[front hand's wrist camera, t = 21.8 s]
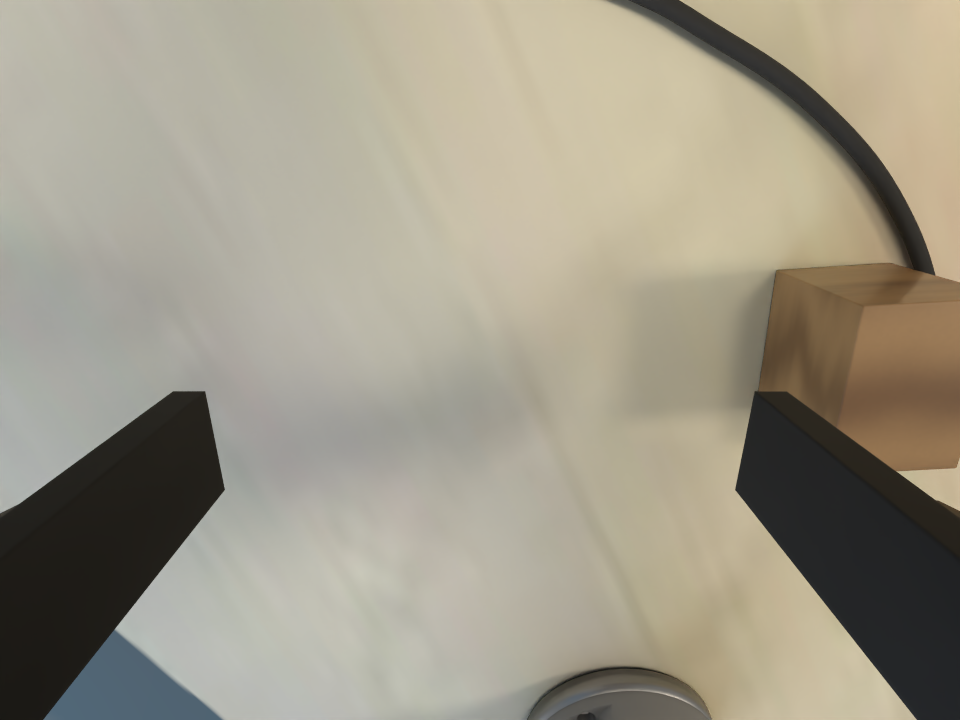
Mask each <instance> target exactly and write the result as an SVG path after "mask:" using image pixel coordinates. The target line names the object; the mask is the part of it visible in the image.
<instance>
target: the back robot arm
mask: <svg viewBox="0 0 960 720" xmlns="http://www.w3.org/2000/svg"><path fill="white" fill-rule="evenodd" d="M528 720H712V718H711V716H710V713H709V711H708V709H707V706H706V704H705V703H704V701H703V700H702V698H701V697H700V696H699V695H698V694H697V693H696V692H695V691H694V690H693V689H692V688H691V687H689V686H688V685H686V684H685V683H683V682H681V681H679V680H677V679H675V678H673V677H670V676H668V675H665V674H662V673H658V672H653V671H648V670H641V669H611V670H604V671H598V672H594V673H590V674H586V675H583V676H580V677H577V678H575V679H572V680H570V681H568V682H566V683H564V684H562V685H560V686H558V687H557V688H555V689H554V690H552V691H551V692H550V693H548V694H547V695H546V696H545V697H544V698H543V699H541V700H540V701H539V703H538V704H537V705H536V706H535V707H534V709H533V710H532V712H531V713H530V715H529V717H528Z"/></svg>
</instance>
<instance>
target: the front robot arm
mask: <svg viewBox="0 0 960 720" xmlns="http://www.w3.org/2000/svg"><path fill="white" fill-rule="evenodd" d="M630 1H632V2H634V3H637V4H639V5H641V6H643V7H646V8H648V9H650V10H652V11H654V12H656V13H658V14H660V15H662V16H664V17H666V18H667V19H669V20H671V21H672V22H674V23H676V24H677V25H679V26H681V27H682V28H684V29H685V30H687V31H689V32H690V33H692V34H693V35H695V36H697V37H698V38H700V39H701V40H703V41H705V42H706V43H708V44H710V45H711V46H713V47H715V48H716V49H718V50H720V51H721V52H723V53H725V54H726V55H728V56H730V57H731V58H733V59H735V60H736V61H738V62H740V63H741V64H743V65H745V66H746V67H748V68H750V69H751V70H753V71H754V72H756V73H757V74H759V75H760V76H762V77H763V78H765V79H766V80H768V81H769V82H771V83H772V84H773V85H775V86H776V87H778V88H779V89H780V90H782V91H783V92H784V93H785V94H787V95H788V96H789V97H791V98H792V99H793V100H794V101H795V102H797V103H798V104H799V105H800V106H801V107H802V108H803V109H805V110H806V111H807V112H808V113H809V114H810V115H811V116H812V117H813V118H814V119H815V120H816V121H818V122H819V123H820V124H821V125H822V126H823V127H824V128H825V129H826V130H827V131H828V132H829V133H830V134H831V135H832V136H833V137H834V138H835V139H836V140H837V141H838V142H839V143H840V144H841V145H842V146H843V148H844V149H845V150H846V151H847V152H848V153H849V154H850V155H851V156H852V158H853V159H854V160H855V161H856V162H857V164H858V165H859V166H860V167H861V169H862V170H863V171H864V173H865V174H866V175H867V177H868V178H869V180H870V181H871V183H872V184H873V186H874V187H875V189H876V190H877V192H878V193H879V195H880V197H881V198H882V200H883V202H884V203H885V205H886V207H887V209H888V210H889V212H890V214H891V216H892V218H893V220H894V222H895V224H896V226H897V228H898V230H899V232H900V234H901V236H902V238H903V241H904V243H905V245H906V248H907V250H908V253H909V256H910V258H911V261H912V264H913V267H914V270H917V271H920V272H924V273H927V274H931V275H935V272H934V268H933V265H932V261H931V258H930V255H929V252H928V249H927V246H926V244H925V241H924V238H923V236H922V233H921V231H920V229H919V227H918V224H917V222H916V220H915V218H914V216H913V214H912V212H911V210H910V208H909V206H908V204H907V202H906V200H905V199H904V197H903V195H902V193H901V191H900V190H899V188H898V186H897V185H896V183H895V181H894V180H893V178H892V177H891V175H890V173H889V172H888V170H887V169H886V168H885V166H884V165H883V163H882V162H881V160H880V159H879V158H878V156H877V155H876V154H875V153H874V151H873V150H872V149H871V148H870V146H869V145H868V144H867V143H866V142H865V141H864V139H863V138H862V137H861V136H860V135H859V134H858V133H857V132H856V131H855V129H854V128H853V127H852V126H851V125H850V124H849V123H848V122H847V121H846V120H845V119H844V118H843V117H842V116H841V115H840V114H839V113H838V112H837V111H836V110H835V109H834V108H833V107H832V106H831V105H830V104H829V103H827V102H826V101H825V100H824V99H823V98H822V97H821V96H820V95H819V94H818V93H817V92H816V91H814V90H813V89H812V88H811V87H810V86H809V85H807V84H806V83H805V82H804V81H803V80H801V79H800V78H799V77H798V76H796V75H795V74H794V73H792V72H791V71H790V70H788V69H787V68H786V67H784V66H783V65H781V64H780V63H778V62H777V61H776V60H774V59H773V58H771V57H770V56H768V55H767V54H765V53H763V52H762V51H760V50H759V49H757V48H756V47H754V46H752V45H751V44H749V43H747V42H746V41H744V40H742V39H741V38H739V37H738V36H736V35H734V34H733V33H731V32H729V31H728V30H726V29H724V28H723V27H721V26H719V25H718V24H716V23H715V22H713V21H711V20H710V19H708V18H707V17H705V16H703V15H702V14H700V13H699V12H697V11H696V10H694V9H692V8H691V7H689V6H688V5H686V4H684V3H683V2H681V1H679V0H630ZM224 490H225V489H224V484H223V479H222V474H221V469H220V464H219V459H218V454H217V449H216V443H215V438H214V433H213V428H212V423H211V418H210V413H209V408H208V403H207V398H206V393H205V391H173V392H172V393H170V394H169V395H168V396H166V397H165V398H163V399H162V400H161V401H159V402H158V403H157V404H155V405H154V406H153V407H151V408H150V409H148V410H147V411H146V412H144V413H143V414H142V415H140V416H139V417H138V418H136V419H135V420H133V421H132V422H131V423H129V424H128V425H127V426H125V427H124V428H123V429H121V430H120V431H118V432H117V433H116V434H114V435H113V436H112V437H110V438H109V439H107V440H106V441H105V442H103V443H102V444H101V445H99V446H98V447H97V448H95V449H94V450H92V451H91V452H90V453H88V454H87V455H86V456H84V457H83V458H82V459H80V460H79V461H77V462H76V463H75V464H73V465H72V466H71V467H69V468H68V469H67V470H65V471H64V472H62V473H61V474H60V475H58V476H57V477H56V478H54V479H53V480H52V481H50V482H49V483H47V484H46V485H45V486H43V487H42V488H41V489H39V490H38V491H36V492H35V493H34V494H32V495H31V496H30V497H28V498H27V499H26V500H24V501H23V502H21V503H20V504H18V505H16V506H14V507H12V508H10V509H8V510H6V511H4V512H2V513H0V720H43V719H44V718H45V717H46V715H47V714H48V713H49V712H50V710H51V709H52V708H53V707H54V705H55V704H56V703H57V701H58V700H59V699H60V698H61V696H62V695H63V694H64V693H65V691H66V690H67V689H68V687H69V686H70V685H71V684H72V682H73V681H74V680H75V679H76V677H77V676H78V675H79V674H80V672H81V671H82V670H83V669H84V667H85V666H86V665H87V663H88V662H89V661H90V660H91V658H92V657H93V656H94V655H95V653H96V652H97V651H98V650H99V648H100V647H101V646H102V644H103V643H104V642H105V641H106V639H107V638H108V637H109V636H110V634H111V633H112V632H113V631H114V629H115V628H116V627H117V626H118V624H119V623H120V622H121V620H122V619H123V618H124V617H125V615H126V614H127V613H128V612H129V610H130V609H131V608H132V607H133V605H134V604H135V603H136V601H137V600H138V599H139V598H140V596H141V595H142V594H143V593H144V591H145V590H146V589H147V588H148V586H149V585H150V584H151V582H152V581H153V580H154V579H155V577H156V576H157V575H158V574H159V572H160V571H161V570H162V569H163V567H164V566H165V565H166V563H167V562H168V561H169V560H170V558H171V557H172V556H173V555H174V553H175V552H176V551H177V550H178V548H179V547H180V546H181V545H182V543H183V542H184V541H185V539H186V538H187V537H188V536H189V534H190V533H191V532H192V531H193V529H194V528H195V527H196V526H197V524H198V523H199V522H200V520H201V519H202V518H203V517H204V515H205V514H206V513H207V512H208V510H209V509H210V508H211V507H212V505H213V504H214V503H215V501H216V500H217V499H218V498H219V496H220V495H221V494H222V493H223V491H224ZM735 490H736V491H737V493H738V494H739V495H740V496H741V498H742V499H743V500H744V501H745V503H746V504H747V505H748V507H749V508H750V509H751V510H752V512H753V513H754V514H755V515H756V517H757V518H758V519H759V520H760V522H761V523H762V524H763V526H764V527H765V528H766V529H767V531H768V532H769V533H770V534H771V536H772V537H773V538H774V539H775V541H776V542H777V543H778V545H779V546H780V547H781V548H782V550H783V551H784V552H785V553H786V555H787V556H788V557H789V558H790V560H791V561H792V562H793V563H794V565H795V566H796V567H797V569H798V570H799V571H800V572H801V574H802V575H803V576H804V577H805V579H806V580H807V581H808V582H809V584H810V585H811V586H812V588H813V589H814V590H815V591H816V593H817V594H818V595H819V596H820V598H821V599H822V600H823V601H824V603H825V604H826V605H827V607H828V608H829V609H830V610H831V612H832V613H833V614H834V615H835V617H836V618H837V619H838V620H839V622H840V623H841V624H842V626H843V627H844V628H845V629H846V631H847V632H848V633H849V634H850V636H851V637H852V638H853V639H854V641H855V642H856V643H857V644H858V646H859V647H860V648H861V650H862V651H863V652H864V653H865V655H866V656H867V657H868V658H869V660H870V661H871V662H872V663H873V665H874V666H875V667H876V669H877V670H878V671H879V672H880V674H881V675H882V676H883V677H884V679H885V680H886V681H887V682H888V684H889V685H890V686H891V688H892V689H893V690H894V691H895V693H896V694H897V695H898V696H899V698H900V699H901V700H902V701H903V703H904V704H905V705H906V707H907V708H908V709H909V710H910V712H911V713H912V714H913V715H914V717H915V718H916V719H917V720H960V511H958V510H956V509H954V508H952V507H950V506H948V505H946V504H944V503H942V502H940V501H936V500H934V499H933V498H932V497H930V496H929V495H928V494H926V493H925V492H924V491H922V490H921V489H919V488H918V487H917V486H915V485H914V484H913V483H911V482H910V481H908V480H907V479H906V478H904V477H903V476H902V475H900V474H899V473H898V472H896V471H895V470H893V469H892V468H891V467H889V466H888V465H887V464H885V463H884V462H883V461H881V460H880V459H878V458H877V457H876V456H874V455H873V454H872V453H870V452H869V451H868V450H866V449H865V448H863V447H862V446H861V445H859V444H858V443H857V442H855V441H854V440H853V439H851V438H850V437H848V436H847V435H846V434H844V433H843V432H842V431H840V430H839V429H837V428H836V427H835V426H833V425H832V424H831V423H829V422H828V421H827V420H825V419H824V418H822V417H821V416H820V415H818V414H817V413H816V412H814V411H813V410H812V409H810V408H809V407H807V406H806V405H805V404H803V403H802V402H801V401H799V400H798V399H797V398H795V397H794V396H792V395H791V394H790V393H788V392H787V391H755V393H754V398H753V403H752V408H751V413H750V418H749V423H748V428H747V433H746V438H745V443H744V449H743V454H742V459H741V464H740V469H739V474H738V479H737V484H736V489H735Z"/></svg>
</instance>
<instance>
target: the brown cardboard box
mask: <svg viewBox="0 0 960 720" xmlns="http://www.w3.org/2000/svg"><path fill="white" fill-rule="evenodd" d="M759 391H787V392H788V393H790V394H791V395H792V396H794V397H795V398H797V399H798V400H799V401H801V402H802V403H803V404H805V405H806V406H807V407H809V408H810V409H812V410H813V411H814V412H816V413H817V414H818V415H820V416H821V417H822V418H824V419H825V420H827V421H828V422H829V423H831V424H832V425H833V426H835V427H836V428H837V429H839V430H840V431H842V432H843V433H844V434H846V435H847V436H848V437H850V438H851V439H853V440H854V441H855V442H857V443H858V444H859V445H861V446H862V447H863V448H865V449H866V450H868V451H869V452H870V453H872V454H873V455H874V456H876V457H877V458H878V459H880V460H881V461H883V462H884V463H885V464H887V465H888V466H889V467H891V468H892V469H893V470H895V471H910V470H929V469H948V468H956V467H957V464H958V461H959V458H960V283H959V282H956V281H952V280H949V279H945V278H942V277H938V276H935V275H931V274H927V273H924V272H920V271H917V270H913V269H910V268H906V267H903V266H899V265H895V264H892V263H883V264H867V265H851V266H836V267H820V268H804V269H788V270H777V271H776V277H775V284H774V290H773V297H772V304H771V310H770V317H769V324H768V330H767V337H766V344H765V351H764V357H763V364H762V371H761V377H760V384H759Z"/></svg>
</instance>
